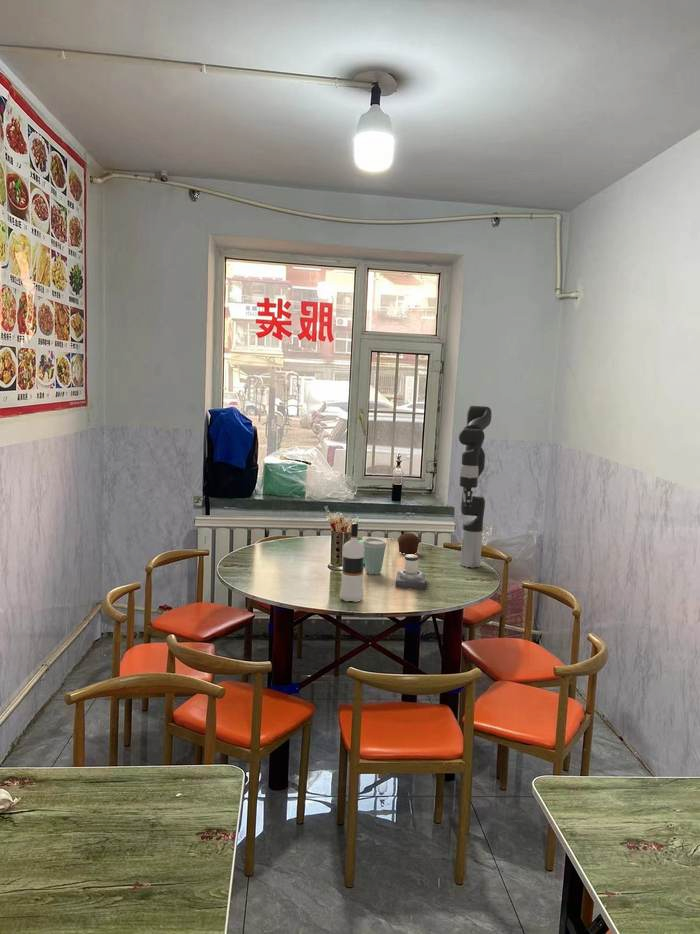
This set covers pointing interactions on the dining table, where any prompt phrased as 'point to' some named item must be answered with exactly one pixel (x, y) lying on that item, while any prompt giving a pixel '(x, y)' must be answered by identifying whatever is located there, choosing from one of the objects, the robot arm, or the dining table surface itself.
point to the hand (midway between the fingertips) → (466, 513)
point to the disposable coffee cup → (373, 555)
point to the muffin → (408, 543)
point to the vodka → (352, 567)
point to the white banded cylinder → (411, 564)
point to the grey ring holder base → (410, 580)
